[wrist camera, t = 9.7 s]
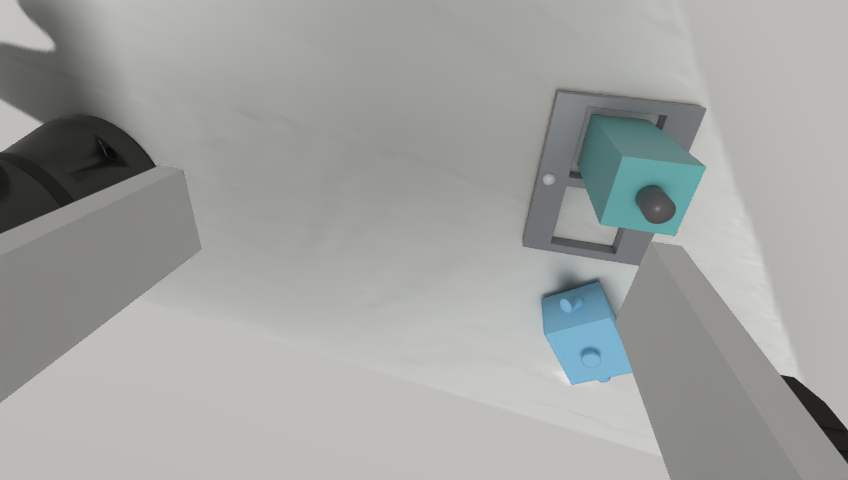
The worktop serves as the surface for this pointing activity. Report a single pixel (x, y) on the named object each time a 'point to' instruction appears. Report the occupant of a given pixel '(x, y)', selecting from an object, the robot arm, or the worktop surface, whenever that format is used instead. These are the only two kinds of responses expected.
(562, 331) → the boxy blue kettle
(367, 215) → the worktop surface
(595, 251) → the socket plate
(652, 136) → the plug
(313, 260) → the worktop surface
